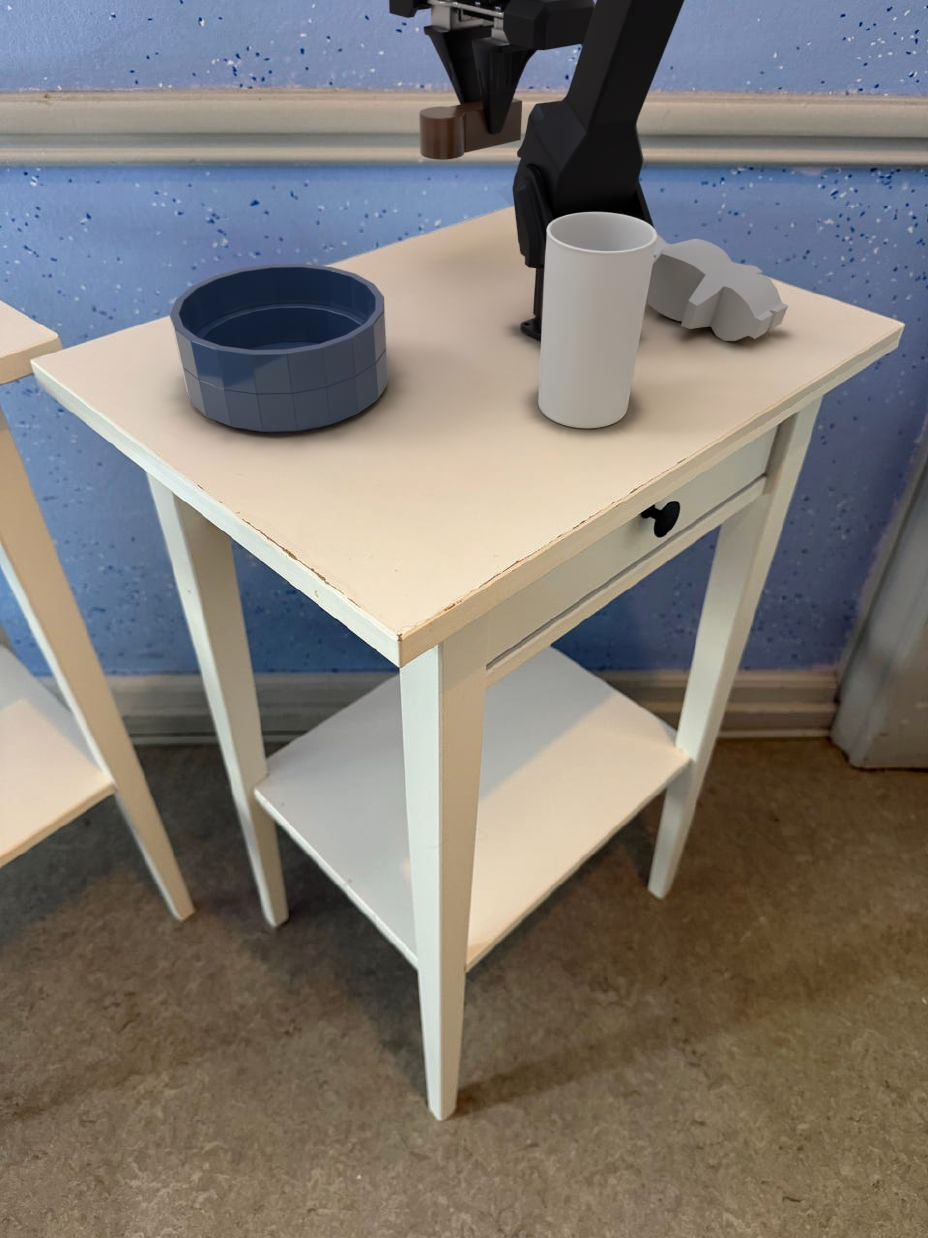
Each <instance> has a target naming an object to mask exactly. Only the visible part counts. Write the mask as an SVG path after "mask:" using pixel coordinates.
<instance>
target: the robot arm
mask: <svg viewBox="0 0 928 1238" xmlns="http://www.w3.org/2000/svg"><path fill="white" fill-rule="evenodd" d="M684 2H685V0H596V2H595V1H594V0H388V4H389V5H388V9H389V11H388V12H389V14H391V15H394V16H398V17H402V18H406V19H411V18H415V16H416V14H417V12H418V11H422V10H430V25H424V26H423V34H424V35H425V36H428V37H429V39H430V41H431V43H432V45H433V48H434V49H435V51H436V53H437V55H438V57H439V60H440V62H441V64H442V66H443V68H444V70H445V72H446V74H447V77H448V79H449V81H450V83H451V86H452V89H453V91H454V93H455V95H456V98H457V100H458V103H459V105H460V104H465V103H470V102H475V101H480V100H482V104H483V110H484V116H485V120H486V124H487V128H488V132H489V134H491V135H495V134H499V133H501V132H502V129H503V126H504V123H505V120H506V118H507V115H508V112H509V109H510V106H511V103H512V100H513V98H515V94H516V91H517V88H518V86H519V83H520V79H521V78H522V75H523V73H524V70H525V68H526V66H527V64H528V62H529V61H530V59H531V58H532V57H534V55H535V53H537V51H549V50H555V49H560V48H561V49H562V48H566V47H572V46H578V45H582V46H581V50H580V52H579V56H578V59H577V62H576V66H575V69H574V72H573V75H572V78H571V81H570V84H569V88H568V91H567V93H566V95H565V97H564V98H562V100H561V99H560V100H553V101H547V102H538V103H535V105H534V106H533V108H532V109H531V111H530V112H529V114H528V117H527V122H526V129H525V134H524V138H523V140H522V143H521V145H520V147H519V148H518V150H517V152H516V156H517V158H519V162H518V165H517V167H516V168H517V169H516V172H515V174H514V178H513V183H512V188H511V189H512V197H513V206H514V207H513V208H514V216H515V225H516V234H517V242H518V247H519V253H520V255H522V256H523V257H524V265H525V266H526V267H527V268H530V269H535V275H534V293H533V309H532V315H533V316H534V317H533V318H530V319H527V320H524V321H522V322H520V325H519V326H520V331H521V332H523V333H525V334H527V335H529V336H531V337H533V338H535V339H537V340H539V341H540V342H541V334H542V313H543V292H544V271H545V253H546V240H547V227H548V225H549V224H550V223H551V222H552V221H553V220H555V219H557V218H560V217H562V216H566V215H570V214H575V213H584V212H607V213H616V214H622V215H627V216H631V217H634V218H637V219H640V220H642V221H644V222H646V223H648V224H650V225H651V226H652V227H653V228H654V229H655V230H656V228H655V225H654V222H653V218H652V215H651V213H650V211H649V206H648V204H647V201H646V198H645V194H644V192H643V188H642V186H641V182H640V175H641V171H642V169H643V165H644V154H643V149H642V145H641V141H640V135H639V131H638V126H637V124H638V120H639V116H640V114H641V111H642V109H643V106H644V104H645V101H646V99H647V96H648V93H649V91H650V88H651V86H652V83H653V82H654V78H655V76H656V73H657V71H658V68H659V66H660V64H661V60H662V58H663V56H664V53H665V52H666V48H667V46H668V43H669V40H670V38H671V35H672V33H673V30H674V29H675V26H676V23H677V20H678V19H679V16H680V13H681V10H682V8H683V6H684Z"/></svg>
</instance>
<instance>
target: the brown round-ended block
mask: <svg viewBox="0 0 928 1238" xmlns="http://www.w3.org/2000/svg"><path fill="white" fill-rule="evenodd" d="M418 115H419V116H418V117H419V148H420V149H419V151H420V152H419V154H420V155H421V156H422V157H424V158H427V159H430V160H439V161H443V160H444V161H446V160H447V161H448V160H454V159H459V158H462V157H464V155H465V154H467V153H470V152H474V151H479V150H484V149H488V148H492V147H497V146H502V145H505V144H509V143H515V142H518V141H521V139H522V120H523V119H522V117H523V100H522V99H518V98H515V97H513V100H512V103H511V106H510V109H509V112H508V115H507V118H506V120H505V123H504V126H503V129H502V132H501V133H499V134H495V135H491V134H489V132H488V128H487V124H486V120H485V116H484V110H483V104H482V100H480V101H475V102H470V103H465V104H460V103H459V104H456V105H451V106H431V107H427V108H423V109H421V110H420V111H419V114H418Z"/></svg>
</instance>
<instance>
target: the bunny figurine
mask: <svg viewBox="0 0 928 1238" xmlns="http://www.w3.org/2000/svg"><path fill="white" fill-rule="evenodd" d="M763 274H764V271H762V270H761V269H760V268H759V267H758V266H756V265H751V264H743V263H738V262H735V261H732V259H731V258H730V256H729V255H728V253H727V252H726V251H725V250H724V249H722V248H721V247H719V246H718V245H717V244H715V243H712V242H710V241H708V240H705V239H700V238H692V239H688V240H684V241H680V242H676V243H672V244H668V243H667V242H666V241H665V240H664V238H663V237H662V236H661V235H659V234H658V233H657V239H656V244H655V251H654V258H653V265H652V271H651V277H650V282H649V288H648V294H647V299H646V302H647V305H649V307H651V308H652V309H654V310H655V311H656V312H658V313H659V314H660V315H661V314H662V315H663V316H664V317H667V318H669V319H672V320H675V321H678V322H681V324H680V327H682V328H685V329H689V330H692V329H700V328H707V327H709V328H710V327H711V329H712V331H713V333H714V334H715V336H716V337H717V338H719V339H721V340H722V341H723V342H724V341H725V342H736V341H739V340H741V339H744V338H746V337H750V338H753V339H754V340H755V339H758V338H759V337H761V336H762V335H764V334H766V333H767V331H768V330H771V331H772V330H773V329H775V328H776V327H778V326H779V325H781V324H782V323H783V320H784V318H785V315H786V312H787V310H788V308H789V305H788V304H786V303H784V302H782V299H781V296H780V293H779V291H778V287H776V285H775V284H774V283H773V281H772V280H771V278H769V277H767V276H765V275H763Z"/></svg>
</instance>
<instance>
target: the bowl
mask: <svg viewBox="0 0 928 1238" xmlns="http://www.w3.org/2000/svg"><path fill="white" fill-rule="evenodd" d="M385 306H386V305H385V296H384V295H383V293H382V292H381V291H380V290H379V288H378V287H377V286H376V284H375V283H373V282H372V281H370V280H368V279H367V278H364V277H363V276H361V275H359V274H357V273H355V272H351V271H348V270H344V269H341V268H338V267H333V266H328V265H327V266H326V265H317V264H310V263H271V264H262V265H255V266H249V267H242V268H237V269H233V270H230V271H227V272H223V273H219V274H215V275H213V276H210V277H209V278H206V279H204V280H202V281H200V282H198V283H196V284H194V285H192V286H190V287H189V288H188V289H186V290H185V291H184V292H183V293H181V295H179V296H178V297H177V298H175V301H174V303H173V305H172V308H171V310H170V313H169V319H170V323H171V328H172V332H173V336H174V341H175V346H176V351H177V355H178V359H179V364H180V369H181V373H182V377H183V378H182V379H183V383H184V386H185V390H186V394H187V397H188V400H189V402H190V404H191V405H192V406H193V407H194V408H195V409H197V410H198V411H199V412H200V413H201V414H202V415H204V416H205V417H206V418H208V419H211V420H214V421H216V422H219V423H221V424H224V425H226V426H229V427H232V428H236V429H237V428H238V429H242V430H247V431H251V432H260V433H295V432H296V433H297V432H304V431H310V430H316V429H319V428H323V427H328V426H331V425H333V424H337V423H339V422H342V421H345V420H347V419H349V418H351V417H353V416H355V415H358V414H359V413H361V412H362V411H364V410H365V409H366V408H368V407H370V406H371V405H372V404H374V403H375V402H376V401H378V399H379V398H380V396H381V395H382V394H383V392H384V391H385V389H386V388H387V386H388V383H389V365H388V364H389V362H388V347H387V346H388V344H387V327H386V326H387V325H386V323H387V322H386V307H385Z"/></svg>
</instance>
